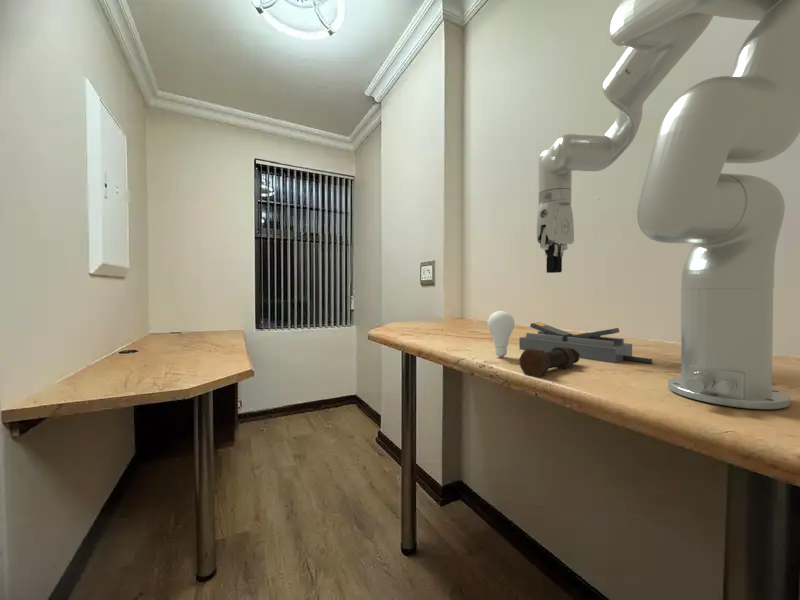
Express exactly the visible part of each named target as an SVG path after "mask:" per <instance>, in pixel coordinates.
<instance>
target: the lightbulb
mask: <svg viewBox="0 0 800 600" xmlns="http://www.w3.org/2000/svg"><path fill="white" fill-rule="evenodd" d="M515 323H516V322H515V319H514V317H513V315H511V313H509V312H507V311H505V310H498V311H497V310H496V311H494V312H493V313H491V314H490V315H489V317H488V319H487V328H488V331H489V333H490V334H491V336H492V339H493V345H494V348H495V349H494V350H495V355H497V356H498V357H499V358H504V357H505V356H507V354H508V346H509V340H510V337H511V334H512V333H513V331H514V329H515V326H516V325H515Z"/></svg>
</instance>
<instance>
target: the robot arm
mask: <svg viewBox="0 0 800 600" xmlns="http://www.w3.org/2000/svg"><path fill="white" fill-rule="evenodd" d="M714 17H720V18H728V19H735V20H745V21H757V22H758V23H757V24H756V25H755V27H754V28H753V29H752V30H751V32H750V33H749V34H748V36H747V37H746V39H745V40H744V42H743V44H742V45H741V46H740V49H739V51H738V53H737V56H736V58H735V62H734V65H733V68H732V70H731V71H732V72H731V75H723V76H722V75H721V76H720V75H719V76H715V77H710V78H707V79H705V80H701V81H700V82H698V83H696V84H694V85H693V86H691V87H689V88H688V89H687V90H686V91H684V92H683V93H682V94H681V95H680V96H679V97H678V98H677V99H676V100H675V101H674V103H673V104H672V105H671V107H670V108H669V109H668V111H667V113H666V114H665V116H664V118H663V120H662V122H661V123H660V126H659V129H658V130H657V134H656V137H655V141H654V143H653V144H654V145H653V147H652V152H651V155H650V159H649V162H648V166H647V170H646V174H645V178H644V180H643V184H642V188H641V192H640V196H639V199H638V205H637V212H636V214H637V215H636V216H637V223H638V226H639V229H640V231H641V232H642V234H644V235H645V237H647V238H648V239H650V240H653V241H655V242H658V243H665V244H666V243H667V244H692V245H691V248H690V251H689V253H688V255H687V258H686V259H685V262H684V265H683V268H682V272H681V288H680V289H681V290H680V376H675V377H671V378H670V379H668V381H667V386H668V387H667V388H668V389H669V390H670V391H672V392H674V393H675V394H678V395H679V396H683V397H686V398H689V399H691V400H696V401H700V402H704V403H708V404H714V405H720V406H727V407H731V408H733V407H734V408H741V409H748V410H749V409H751V410H778V409H780V410H781V409H784V408H787V407H789V406H790V404H791V403H790V396H789V395H788V394H786V393H785V392H783V391H781V390H778V389H775V388H773V343H774V342H773V341H774V340H773V338H774V337H773V336H774V335H773V334H774V333H773V331H774V327H773V325H774V324H773V323H774V286H775V260H776V253H777V252H776V251H777V245H778V240H779V236H780V234H781V233H780V232H781V228H782V226H783V221H784V218H785V217H784V216H785V212H786V211H785V210H786V206H785V199H784V195H783V194H782V192H781V191H780V189H779V188H778V187H777V186H776V185H775V184H773V183H772V182H771V181H769V180H768V179H767V180H766V178H765V179H764V178H762V177H758V176H755V175H750V174H741V173H740V174H737V173H726V172H725V173H723V172H722V171H723V168H724V166H725V163H727V164H753V163H755V164H756V163H761V162H765V161H769V160H771V159H774V158H776V157H778V156H779V155H781V154H783V153H785V152H786V150H788V149H789V148H790V147H791V146H792V145H793V144H794V143H795V141H796V140H797V138H798V136H799V134H800V0H620V2H619V3H618V6H617V7H616V9H615V12H614V13H613V15H612V18H611V21H610V26H609V38H610V40H611V42H612V43H613V44H614V45H616V46H618V47H623V48H625V50H624V51H623V53H622V54H621V56H620V57H619V59H618V60H617V62H616V63H615V64H614V66H612V68H611V70H610V72H609V73H608V74H607V75H606V77H605V78H604V80H603V82H602V88H601V89H602V92H603V94H604V96H605V97H606V99H607V100H608V101H609V102H610V103H611V104H612V105H613V106H614V107H616V108H617V109H618V110H619V112H618V115H617V117H616V119H615V120H614V122H613V123H612V124H611V126H610V127H609V128H608V129H607V131H605V133H604V134H603V135H602V136H601V135H590V134H577V133H568V134H564V135H561V136H559V137H558V138H557V139H556V140H555V141H554V143H552V145H551V146H550V148H547V149H545V150H543V151H542V152H541V154H540V155H539V157H538V209H537V210H538V211H537V218H536V220H537V221H536V241H537V243H538V244H539V247H540V249H542V250H543V251H544V252H545V253H544V254H545V257H546V273H548V274H553V273H558V274H559V273H562V271H563V268H562V266H563V257H564V251H566V250H568V245H572V244H573V243H574V241H575V230H574V226H575V225H574V215H573V209H572V177H573V176H572V172H573V171H574V172H575V171H579V172H601V171H603V170H605V169H607V168H609V167H610V166H611V165H612V164H613V163H614V162H615V161H617V159H618V158H620V156H621V155H622V154H623V153H624V152H625V151H626V150H627V149H628V148H629V147H630V145H631V144H632V143H633V141H634V139H635V137H636V135H637V133H638V131H639V128H640V125H641V122H642V119H643V106H644V103H645V102H646V101H647V99H648V97H649V96H650V95H652V93H653V92H654V91H655V90H656V88H658V86H659V85H660V84H661V82H662V81H664V79H666V77H667V76H668V75H669V73H670V72H671V71H672V70H673V68H674V67H675V66H676V65H677V64H678V63H679V62H680V60H681V59H682V58H683V57H684V56H685V55H686V54H687V52H688V51H689V49H691V47H692V46H693V45H694V43H695V42H696V41H697V40H698V38H700V36H701V35H702V34H703V33H704V32H705V31H706V29H707V28H708V26H710V24H711V21H712V20H713V18H714Z"/></svg>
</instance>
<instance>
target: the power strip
mask: <svg viewBox="0 0 800 600" xmlns="http://www.w3.org/2000/svg"><path fill="white" fill-rule="evenodd" d="M525 335H526V336H522V337H519V339H518V340H519V341H518V343H519V350H523V351H524V350H525V349H527V348H532V349H539V350H544V352H549V351H551V350H552V349H553V348H554V347H555V346H562V347H569V348H571V349H574V350H576V351H577V352H578V353H579V355H580V357H579V359H586V360H593V361H599V362H600V361H601V362H605V363H606V362H607V363H613V364H614V363H615V364H617V363H620V362H622V361H627V362H629V361H630V362H637V363H643V364H653V358H649V357H640V356H633V344H632V343H628V342H627V343H626V342H625V339H624V338H619V337H611V336H610V337H609V336H608V337H607V336H600V337H596V338H574V337H568V338H565V339H563V336H555V335H550V334H545V333H544V332H542V331H540V330H537V333H534V332H533V333H532V332H526V334H525ZM574 335H576V334H575V333H571V336H574Z"/></svg>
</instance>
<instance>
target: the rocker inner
mask: <svg viewBox="0 0 800 600" xmlns="http://www.w3.org/2000/svg"><path fill="white" fill-rule="evenodd" d="M617 333H620V329H619V327H617V328H616V327H615V328H610V329H604V330H599V331H598V330H597V331H591V332H581V333H577V334H575V335H574V336H571V337H574V338H596V337H603V336H607V335H613V334H617Z"/></svg>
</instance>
